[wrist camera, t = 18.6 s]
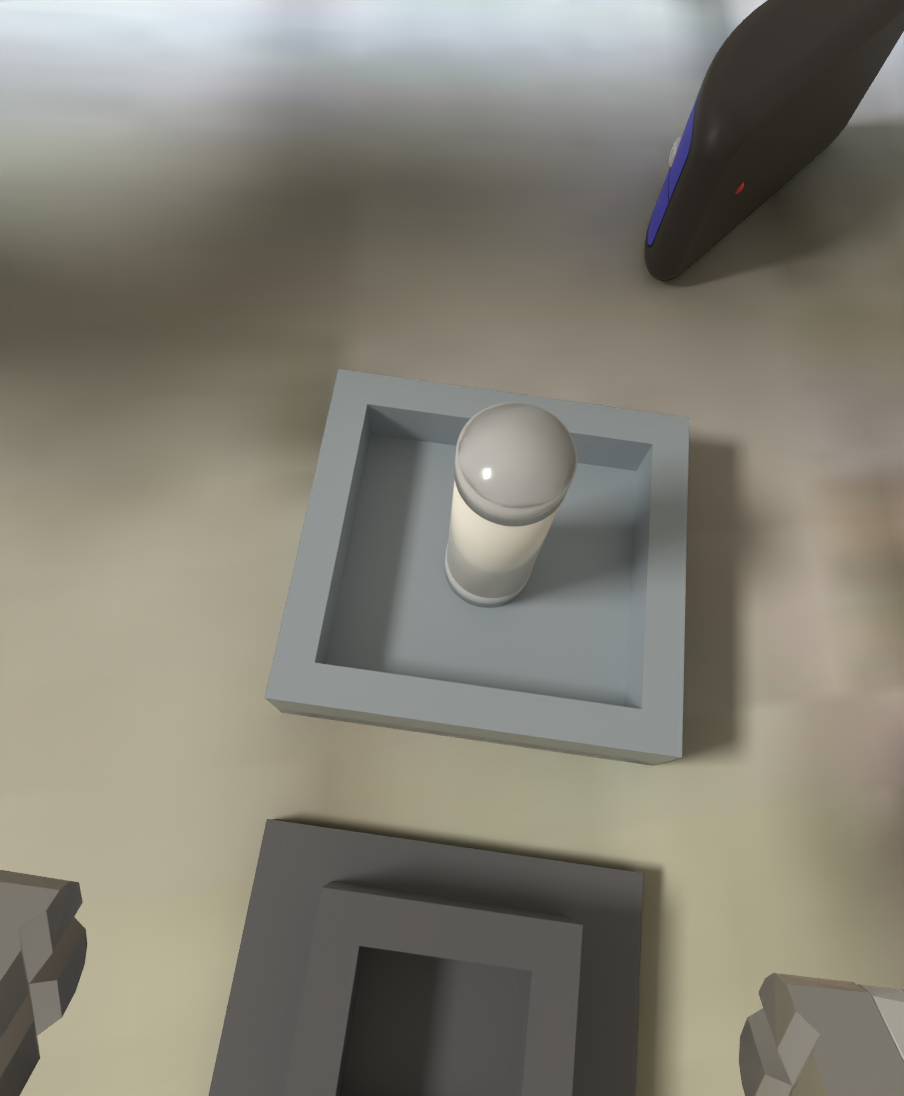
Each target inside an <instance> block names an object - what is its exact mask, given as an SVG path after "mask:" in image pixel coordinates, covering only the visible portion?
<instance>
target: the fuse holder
mask: <svg viewBox="0 0 904 1096" xmlns="http://www.w3.org/2000/svg"><path fill="white" fill-rule="evenodd" d="M642 897H643V873H639V872H633V871H626V870H619V869H612V868H605V867H598V866H592V865H585V864H578V863H571V862H564V861H557V860H550V859H543V858H536V857H529V856H522V855H515V854H508V853H501V852H494V851H487V850H480V849H473V848H467V847H460V846H453V845H446V844H439V843H432V842H425V841H418V840H411V839H404V838H397V837H390V836H383V835H376V834H369V833H362V832H355V831H348V830H342V829H335V828H328V827H321V826H314V825H307V824H300V823H293V822H286V821H279V820H272V819H267V821H266V826H265V830H264V835H263V840H262V845H261V849H260V854H259V859H258V864H257V868H256V873H255V878H254V883H253V887H252V892H251V897H250V902H249V906H248V911H247V916H246V921H245V925H244V930H243V935H242V940H241V944H240V949H239V954H238V959H237V963H236V968H235V973H234V978H233V982H232V987H231V992H230V997H229V1001H228V1006H227V1011H226V1016H225V1020H224V1025H223V1030H222V1035H221V1039H220V1044H219V1049H218V1054H217V1058H216V1063H215V1068H214V1073H213V1077H212V1082H211V1087H210V1092H209V1096H635V1082H636V1055H637V1029H638V1002H639V976H640V950H641V923H642Z"/></svg>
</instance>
